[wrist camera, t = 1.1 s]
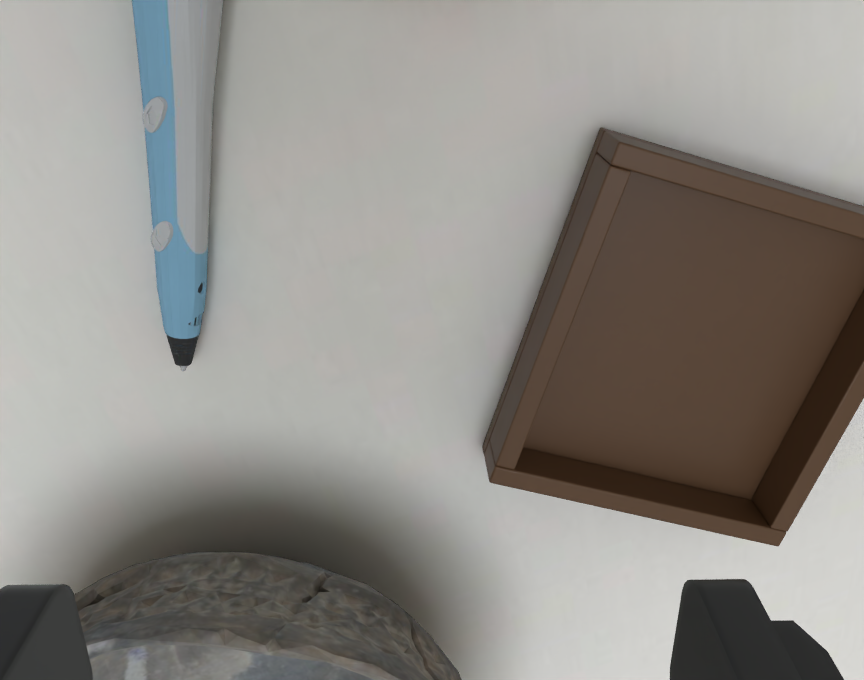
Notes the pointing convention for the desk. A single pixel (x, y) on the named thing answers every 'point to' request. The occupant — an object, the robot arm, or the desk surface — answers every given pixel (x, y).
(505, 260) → the desk surface
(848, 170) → the desk surface
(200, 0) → the pen
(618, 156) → the tray
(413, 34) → the desk surface
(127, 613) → the bowl
